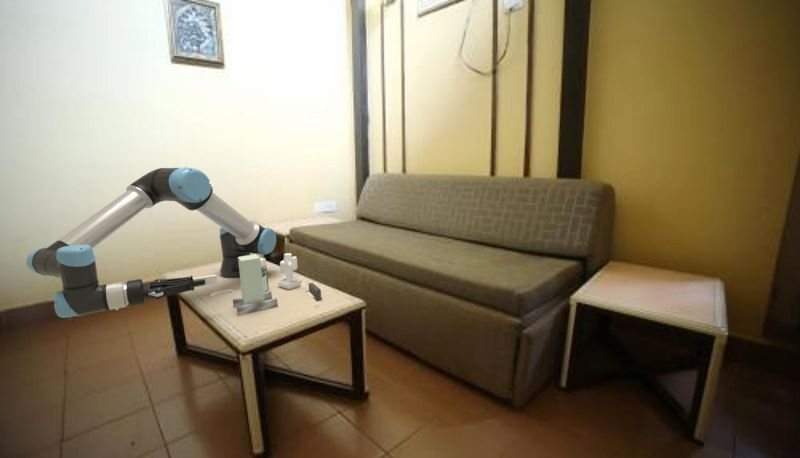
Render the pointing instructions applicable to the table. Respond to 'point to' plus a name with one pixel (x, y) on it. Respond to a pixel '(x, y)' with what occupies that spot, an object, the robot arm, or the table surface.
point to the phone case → (221, 292)
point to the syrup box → (264, 275)
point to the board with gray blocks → (270, 301)
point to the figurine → (289, 272)
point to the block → (251, 279)
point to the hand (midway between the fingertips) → (216, 279)
